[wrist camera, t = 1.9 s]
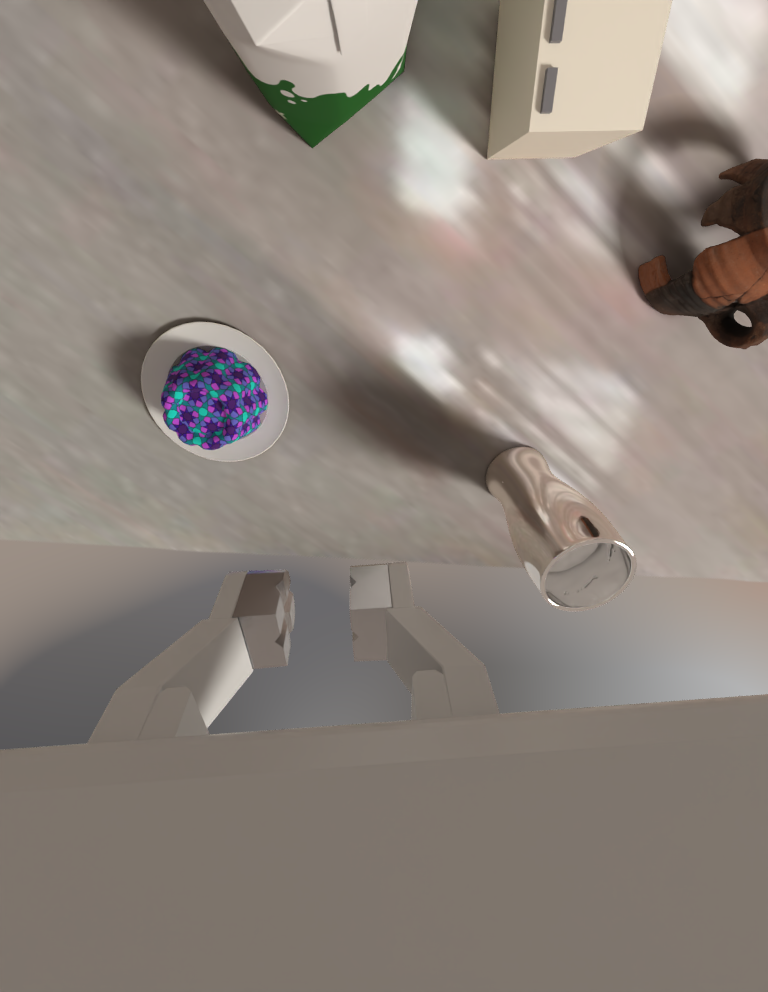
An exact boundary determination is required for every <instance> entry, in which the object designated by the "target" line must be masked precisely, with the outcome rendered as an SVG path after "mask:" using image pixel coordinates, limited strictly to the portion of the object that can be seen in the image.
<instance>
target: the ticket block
mask: <svg viewBox="0 0 768 992" xmlns="http://www.w3.org/2000/svg"><path fill="white" fill-rule="evenodd" d="M671 4H672V0H500V5H499V17H498V29H497V41H496V54H495V66H494V78H493V90H492V102H491V114H490V126H489V139H488V151H487V160H488V159H538V158H574V157H577V156H579V155H582V154H584V153H587V152H589V151H592V150H594V149H597V148H599V147H602V146H604V145H607V144H609V143H612V142H614V141H617V140H619V139H622V138H624V137H627V136H629V135H632V134H634V133H637V132H639V131H642V130H643V127H644V122H645V118H646V114H647V109H648V105H649V101H650V96H651V92H652V87H653V83H654V79H655V74H656V70H657V66H658V61H659V57H660V52H661V48H662V44H663V39H664V35H665V31H666V26H667V22H668V18H669V13H670V9H671Z"/></svg>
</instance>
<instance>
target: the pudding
mask: <svg viewBox="0 0 768 992" xmlns="http://www.w3.org/2000/svg"><path fill="white" fill-rule="evenodd" d="M200 346H217V347H222V348H217V347H216V348H214V349H213V350H211V351H209V352H206V351H204V350H201V349H199V348H196V347H200ZM193 348H196V349H193ZM225 348H226V349H225ZM190 349H191V350H190ZM227 349H228V350H227ZM188 350H189V351H188ZM229 350H231V351H233V352H235V353H237V354H239V355H240V356H242V357H243V358H245V359H246V360H247V361H248V362H249V363H250V364H251V365H252V366H253V367H254V368H255V369H254V368H253V367H252V366H251V365H250V364H248V363H242V362H239V361H238V359H237V357H236V356H235V354H234V353H233V352H231V351H229ZM186 351H187V352H186ZM184 352H186V353H185V354H184V355H183V356H182V359H181V361H180V364H179V365H177V366H174V367H172V369H171V371H170V368H171V366H172V364H173V363H174V362H175V360H176V359H177V358H178V357H179V356H180V355H181V354H183V353H184ZM256 370H257V371H256ZM169 371H170V372H169ZM257 372H258V373H259V374H258V373H257ZM168 373H169V374H168ZM259 375H260V376H261V378H262V380H263V382H264V384H265V387H266V390H267V394H268V401H267V396H266V394H265V393H264V391H263V390H262V389H261V388H260V387H259V385H260V376H259ZM141 389H142V393H143V397H144V401H145V404H146V406H147V408H148V411H149V413H150V414H151V416H152V418H153V419H154V421H155V422H156V424H157V425H158V426H159V428H160V429H161V430H162V431H163V432H164V433H165V434H166V435H167V436H168V437H169V438H170V439H171V440H172V441H173V442H175V443H176V444H178V445H179V446H181V447H182V448H184V449H185V450H187V451H189V452H191V453H193V454H195V455H197V456H200V457H203V458H206V459H210V460H216V461H226V462H234V461H241V460H246V459H249V458H253V457H255V456H257V455H259V454H261V453H263V452H264V451H266V450H267V449H268V448H270V447H271V446H272V445H273V444H274V443H275V442H276V441H277V439H278V438H279V437H280V435H281V433H282V432H283V430H284V428H285V425H286V422H287V419H288V412H289V395H288V391H287V387H286V383H285V380H284V378H283V375H282V373H281V371H280V369H279V368H278V366H277V364H276V363H275V361H274V360H273V358H272V357H271V356H270V355H269V354H268V353H267V351H266V350H265V349H264V348H263V347H262V346H260V345H259V344H258V343H257V342H256V341H255V340H253V339H252V338H250V337H249V336H247V335H245V334H244V333H242V332H241V331H238V330H236V329H233V328H231V327H229V326H226V325H222V324H217V323H213V322H192V323H185V324H182V325H179V326H176V327H173V328H171V329H170V330H168V331H166V332H165V333H163V334H162V335H161V336H160V337H159V338H158V339H156V340H155V341H154V342H153V344H152V345H151V347H150V348H149V350H148V351H147V353H146V356H145V359H144V361H143V364H142V371H141ZM267 404H268V410H267V414H266V417H265V419H264V421H263V423H262V425H261V426H260V427H259V428H258V426H259V425H260V416H259V415H260V414H261V413H262V412H264V411H265V410H266V408H267ZM257 428H258V429H257ZM256 429H257V430H256ZM255 430H256V431H255ZM253 431H255V432H254V433H253V434H251V435H250V436H248V437H246V438H243V439H241V438H242V437H244V436H246V435H248V434H250V433H251V432H253ZM239 439H240V440H239Z"/></svg>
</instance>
